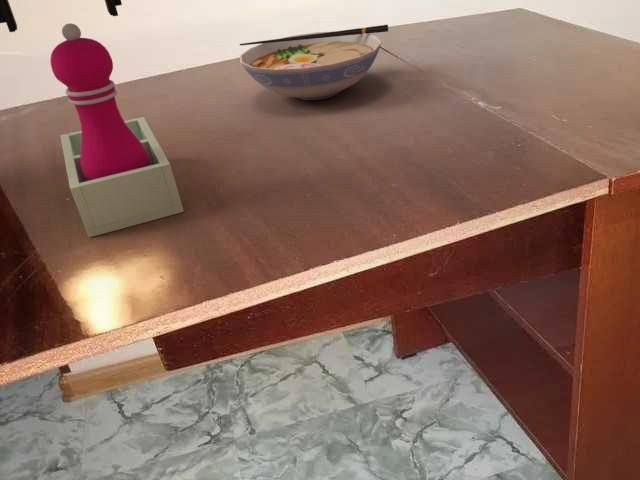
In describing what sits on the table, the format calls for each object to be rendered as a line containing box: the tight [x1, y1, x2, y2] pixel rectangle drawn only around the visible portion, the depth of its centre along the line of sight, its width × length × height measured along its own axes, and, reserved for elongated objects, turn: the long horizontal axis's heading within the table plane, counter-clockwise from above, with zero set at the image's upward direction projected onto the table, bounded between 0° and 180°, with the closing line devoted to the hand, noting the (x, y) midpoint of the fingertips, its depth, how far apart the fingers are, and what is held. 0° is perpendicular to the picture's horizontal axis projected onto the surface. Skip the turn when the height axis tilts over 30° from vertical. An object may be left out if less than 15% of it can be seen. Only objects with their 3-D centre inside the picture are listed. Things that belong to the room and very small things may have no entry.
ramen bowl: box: [239, 24, 389, 101], centre depth 113 cm, size 25×23×8 cm
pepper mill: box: [50, 23, 149, 181], centre depth 77 cm, size 7×7×20 cm
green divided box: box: [59, 116, 185, 239], centre depth 85 cm, size 10×20×6 cm, turn 27°
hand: (64, 21), depth 72 cm, fingers open, 9 cm apart
